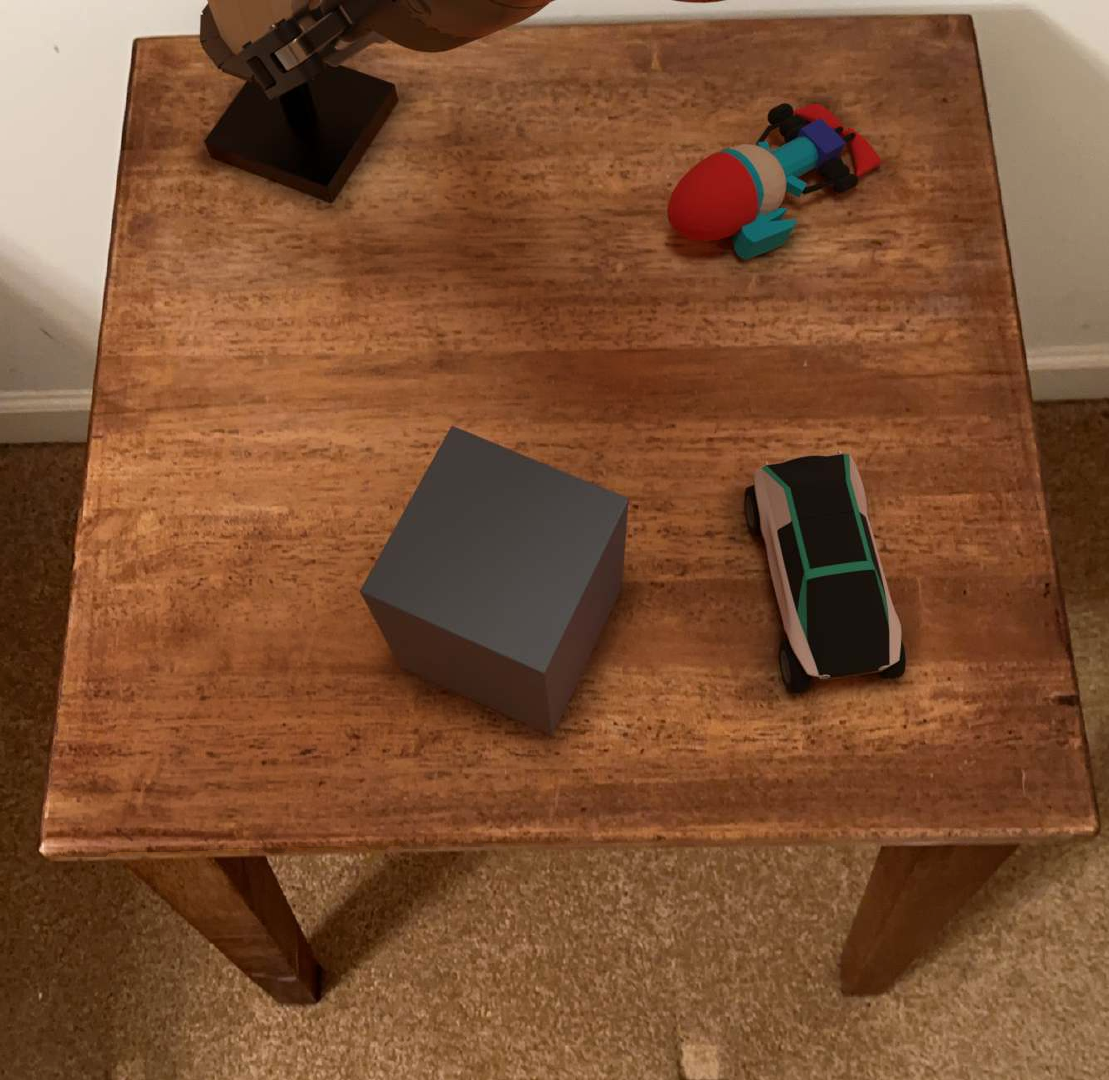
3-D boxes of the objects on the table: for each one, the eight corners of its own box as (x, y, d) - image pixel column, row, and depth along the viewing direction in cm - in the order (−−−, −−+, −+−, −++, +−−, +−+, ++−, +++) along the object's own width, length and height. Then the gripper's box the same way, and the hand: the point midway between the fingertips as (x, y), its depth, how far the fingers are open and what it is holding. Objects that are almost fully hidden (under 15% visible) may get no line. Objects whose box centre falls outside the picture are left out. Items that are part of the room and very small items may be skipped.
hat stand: (332, 203, 74) (268, 0, 60) (210, 157, 76) (118, -52, 61) (398, 100, 77) (354, -118, 63) (280, 58, 79) (209, -164, 64)
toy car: (843, 478, 66) (863, 434, 61) (897, 683, 62) (924, 654, 57) (739, 493, 66) (751, 451, 61) (786, 700, 62) (804, 672, 57)
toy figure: (801, 116, 78) (627, 206, 72) (828, 58, 73) (646, 150, 68) (877, 196, 76) (705, 295, 71) (910, 142, 72) (729, 242, 66)
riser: (552, 736, 61) (544, 674, 50) (399, 667, 63) (358, 591, 52) (622, 588, 64) (629, 497, 53) (474, 525, 66) (451, 424, 55)
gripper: (539, -247, 48) (392, -129, 62) (269, -57, 44) (178, 23, 58) (630, -70, 51) (472, 4, 65) (387, 120, 48) (274, 155, 61)
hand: (333, 13), depth 61 cm, fingers open, 8 cm apart
